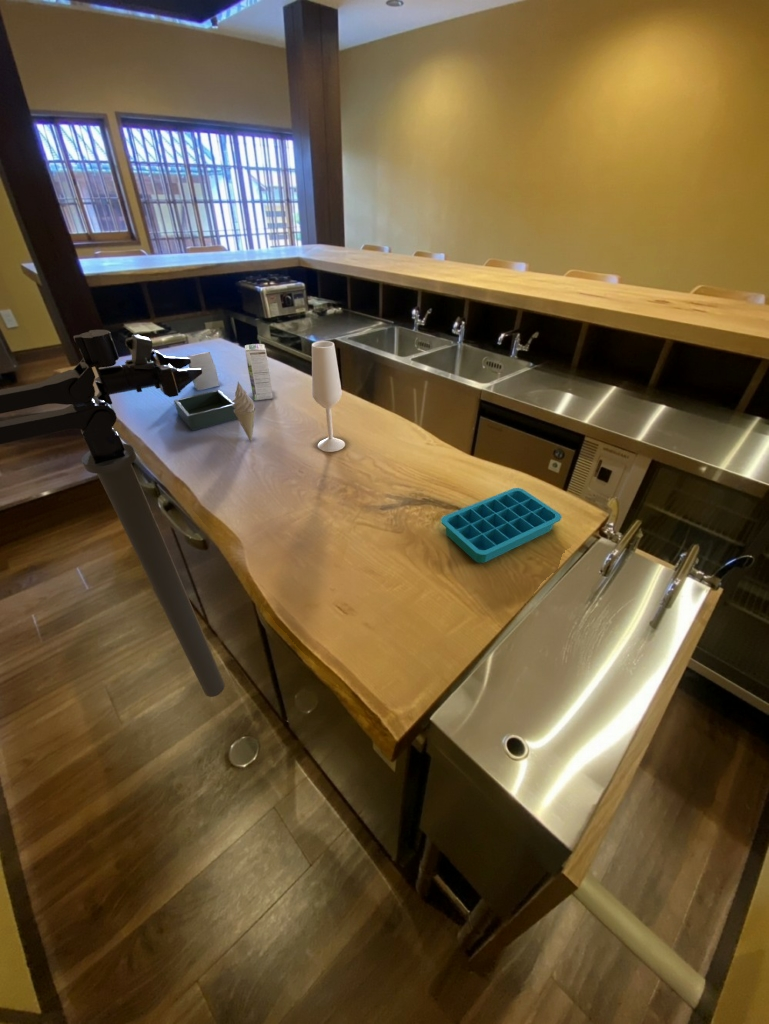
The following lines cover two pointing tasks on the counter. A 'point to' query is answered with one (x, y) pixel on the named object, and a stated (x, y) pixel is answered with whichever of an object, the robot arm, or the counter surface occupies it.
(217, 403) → the bin
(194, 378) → the robot arm
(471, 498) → the counter surface
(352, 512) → the counter surface
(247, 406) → the ice cream cone
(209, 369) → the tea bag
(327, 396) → the champagne flute
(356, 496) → the counter surface
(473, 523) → the ice cube tray
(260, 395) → the syrup box
